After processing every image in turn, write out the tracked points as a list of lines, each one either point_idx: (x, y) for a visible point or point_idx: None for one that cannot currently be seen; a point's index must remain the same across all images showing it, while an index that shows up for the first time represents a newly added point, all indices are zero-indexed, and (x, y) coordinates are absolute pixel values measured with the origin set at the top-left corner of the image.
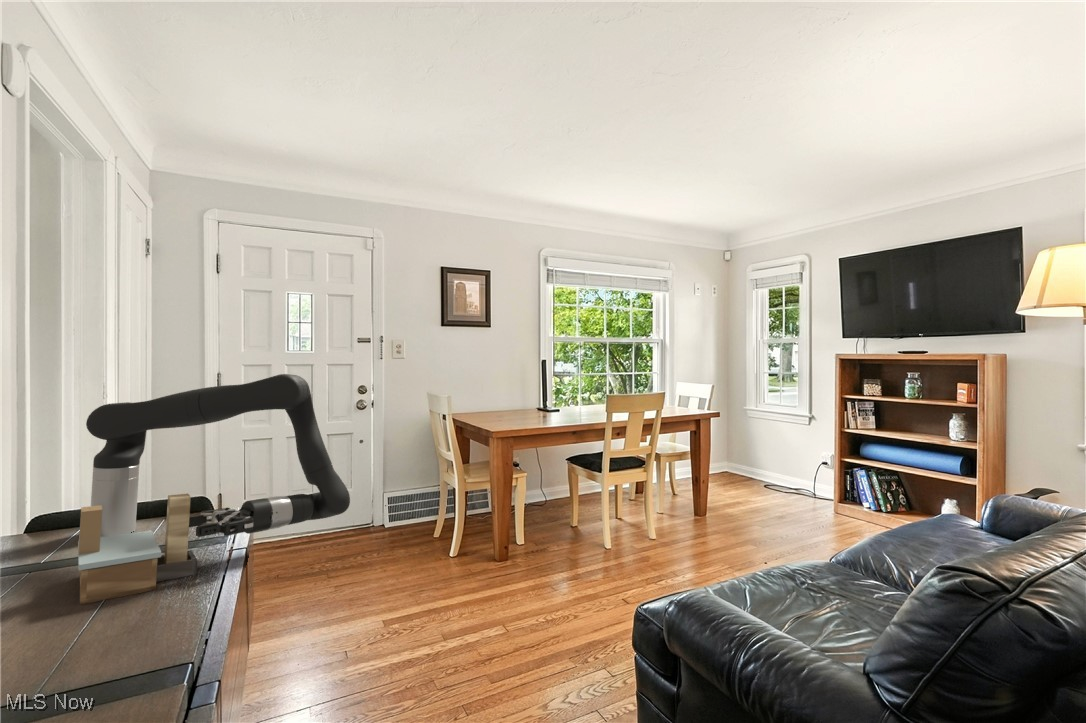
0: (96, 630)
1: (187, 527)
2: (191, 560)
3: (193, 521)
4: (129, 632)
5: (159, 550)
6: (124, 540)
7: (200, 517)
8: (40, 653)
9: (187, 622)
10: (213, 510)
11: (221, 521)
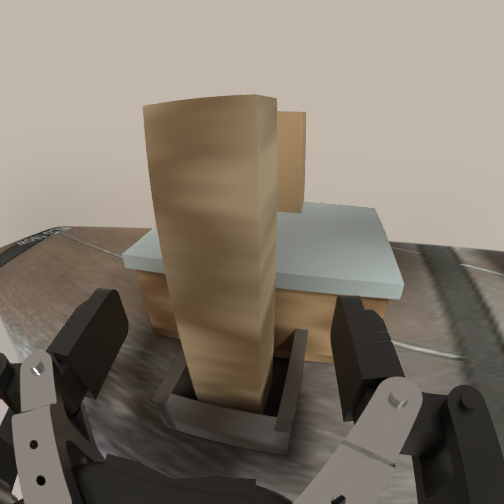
0: (103, 262)
1: (171, 282)
2: (161, 387)
3: (343, 358)
4: (63, 274)
5: (136, 254)
6: (315, 235)
7: (357, 381)
8: (111, 236)
9: (15, 308)
10: (483, 468)
11: (34, 365)
